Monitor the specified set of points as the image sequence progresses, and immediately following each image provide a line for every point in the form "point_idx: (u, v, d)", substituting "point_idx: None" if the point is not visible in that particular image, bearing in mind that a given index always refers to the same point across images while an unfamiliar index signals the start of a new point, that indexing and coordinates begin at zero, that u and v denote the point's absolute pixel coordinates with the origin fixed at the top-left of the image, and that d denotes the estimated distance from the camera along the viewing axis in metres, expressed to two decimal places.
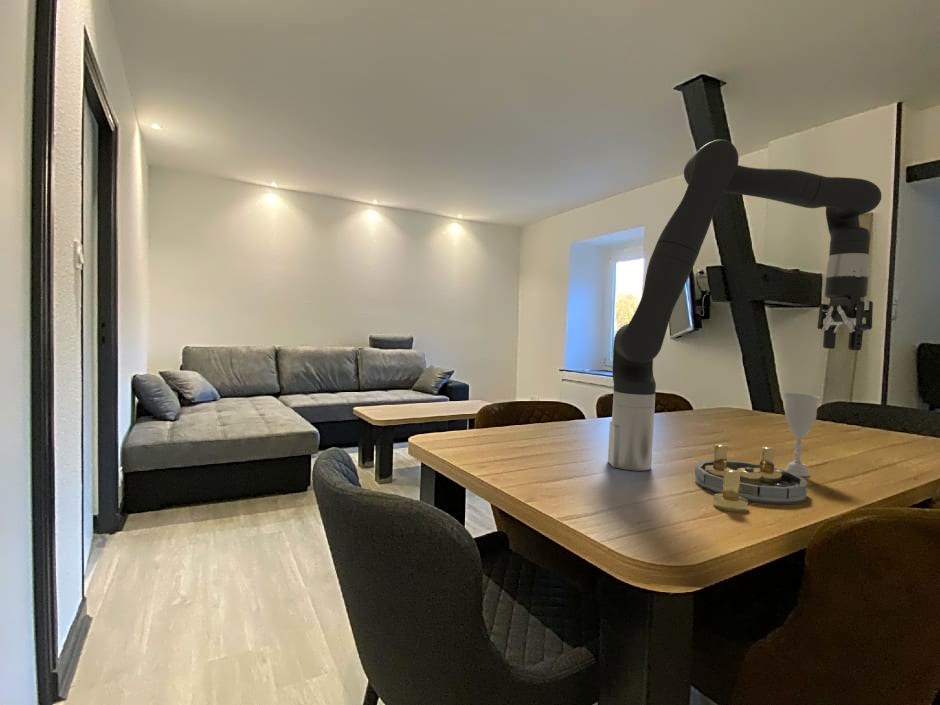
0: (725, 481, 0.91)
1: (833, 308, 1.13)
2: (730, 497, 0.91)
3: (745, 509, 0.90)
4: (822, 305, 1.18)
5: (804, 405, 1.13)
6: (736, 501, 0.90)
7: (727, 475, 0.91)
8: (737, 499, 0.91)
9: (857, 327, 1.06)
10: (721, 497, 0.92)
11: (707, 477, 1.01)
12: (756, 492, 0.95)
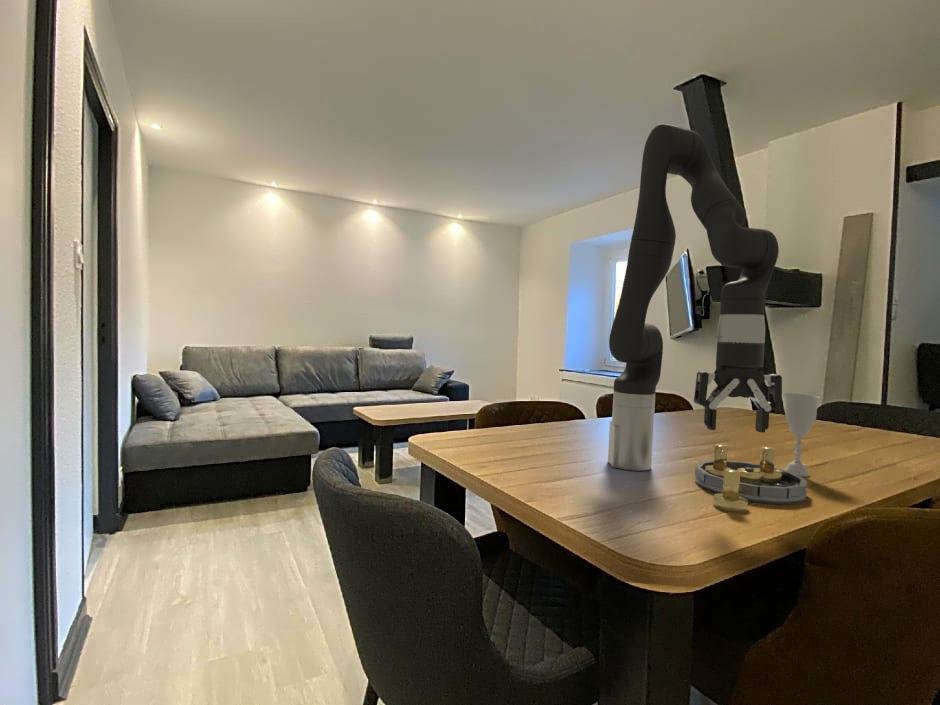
0: (725, 481, 0.91)
1: (738, 380, 0.89)
2: (730, 497, 0.91)
3: (745, 509, 0.90)
4: (707, 374, 0.90)
5: (804, 405, 1.13)
6: (736, 501, 0.90)
7: (727, 475, 0.91)
8: (737, 499, 0.91)
9: (778, 406, 0.89)
10: (721, 497, 0.92)
11: (707, 477, 1.01)
12: (756, 492, 0.95)
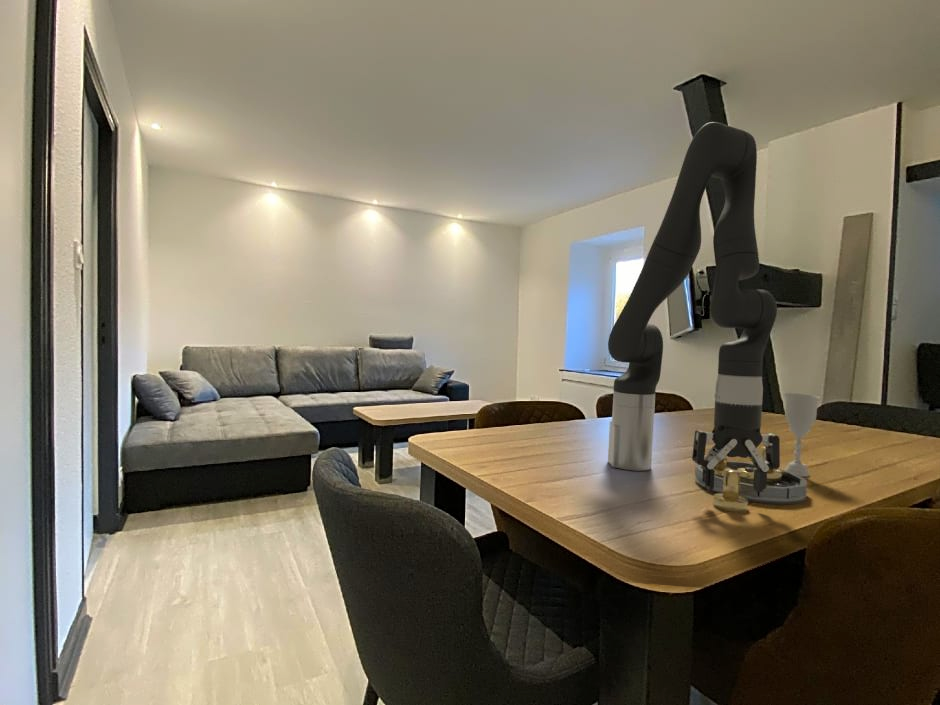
0: (725, 481, 0.91)
1: (736, 441, 0.89)
2: (730, 497, 0.91)
3: (745, 509, 0.90)
4: (705, 434, 0.90)
5: (804, 405, 1.13)
6: (736, 501, 0.90)
7: (727, 475, 0.91)
8: (737, 499, 0.91)
9: (776, 467, 0.90)
10: (721, 497, 0.92)
11: None
12: (756, 492, 0.95)
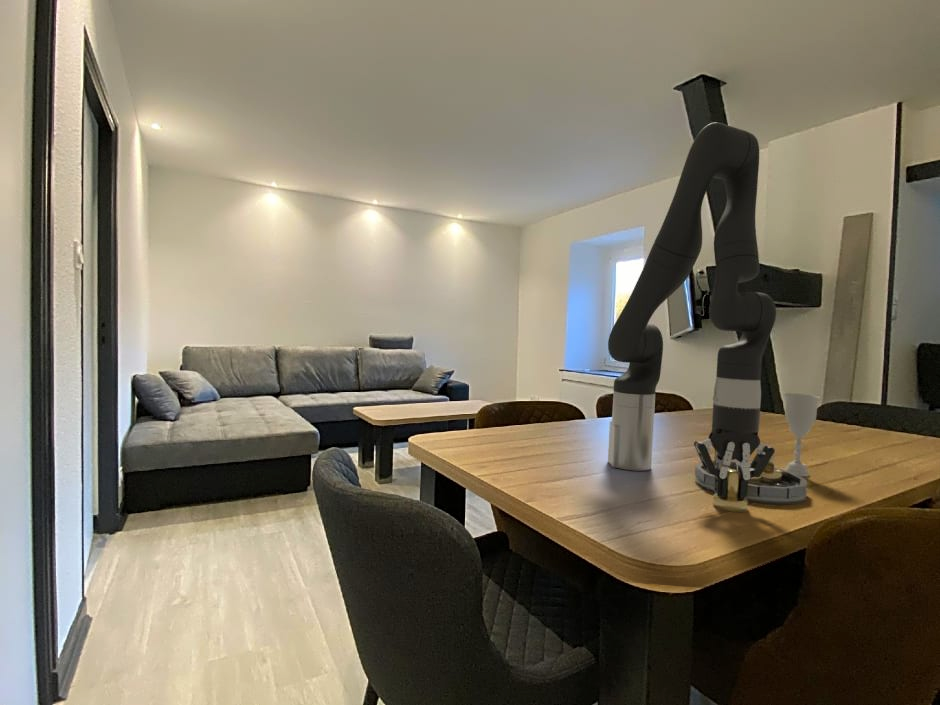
0: None
1: (733, 442, 0.90)
2: (730, 497, 0.91)
3: (745, 509, 0.90)
4: (703, 445, 0.91)
5: (804, 405, 1.13)
6: (735, 501, 0.90)
7: (727, 475, 0.91)
8: (737, 499, 0.91)
9: (756, 475, 0.90)
10: None
11: (707, 477, 1.01)
12: (756, 492, 0.95)
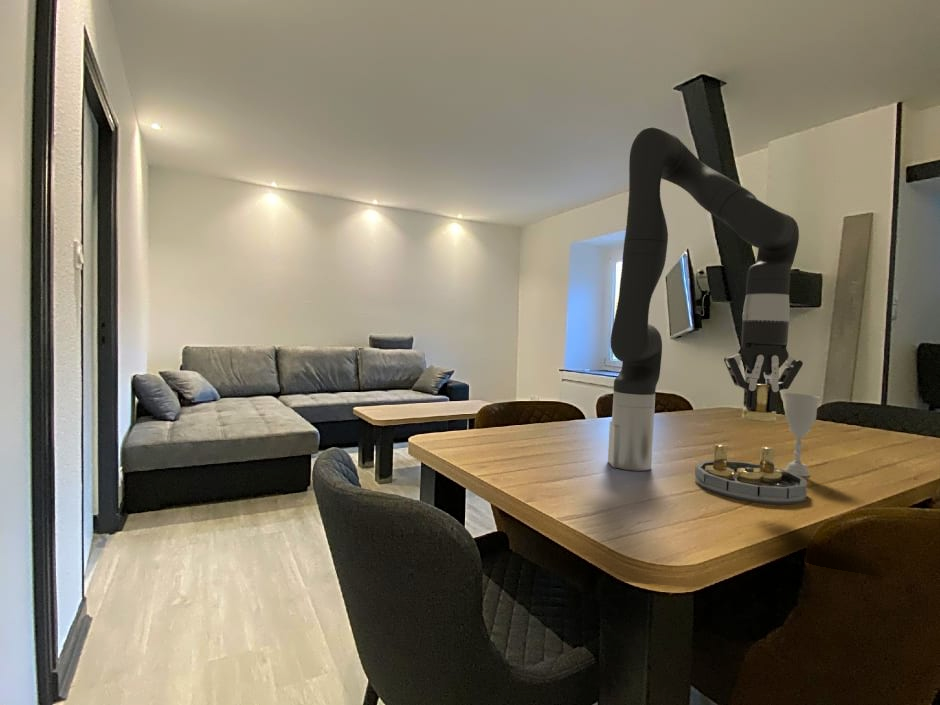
0: None
1: (762, 355, 0.94)
2: (759, 408, 0.95)
3: (774, 419, 0.94)
4: (733, 359, 0.95)
5: (804, 405, 1.13)
6: (764, 412, 0.94)
7: (756, 388, 0.95)
8: (766, 410, 0.95)
9: (785, 387, 0.94)
10: None
11: (707, 477, 1.01)
12: (756, 492, 0.95)
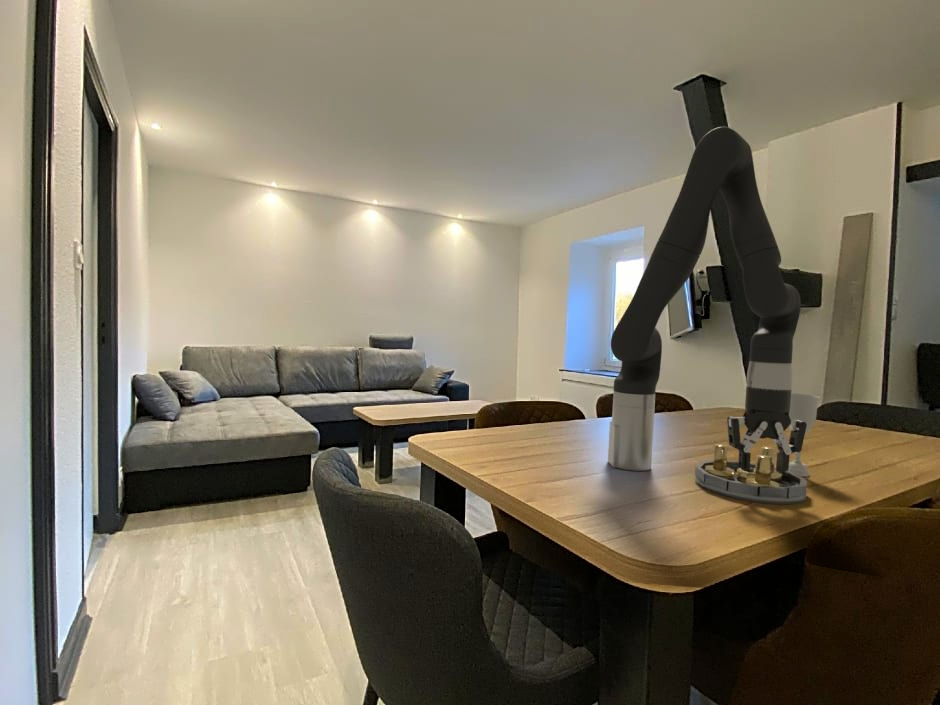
0: (757, 466, 0.98)
1: (766, 423, 0.96)
2: (762, 481, 0.97)
3: None
4: (737, 420, 0.97)
5: (804, 405, 1.13)
6: (768, 484, 0.97)
7: (759, 460, 0.98)
8: (769, 482, 0.97)
9: (798, 450, 0.96)
10: (754, 480, 0.99)
11: (707, 477, 1.01)
12: (756, 492, 0.95)
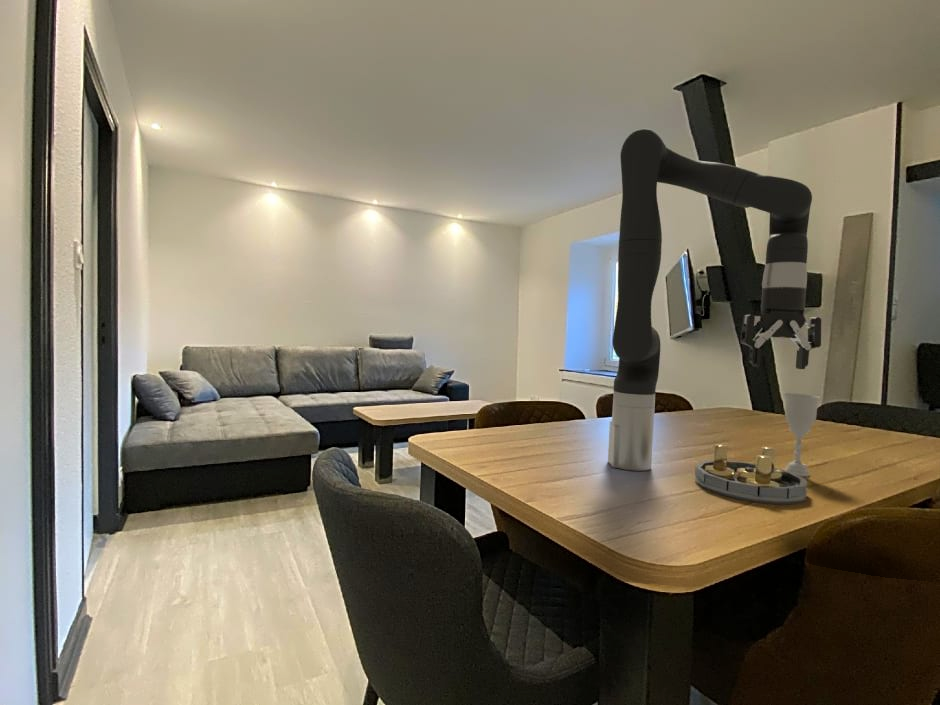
0: (757, 466, 0.98)
1: (782, 322, 1.00)
2: (762, 481, 0.97)
3: None
4: (753, 316, 1.01)
5: (804, 405, 1.13)
6: (768, 484, 0.97)
7: (759, 460, 0.98)
8: (769, 482, 0.97)
9: (817, 345, 1.00)
10: (754, 480, 0.99)
11: (707, 477, 1.01)
12: (756, 492, 0.95)
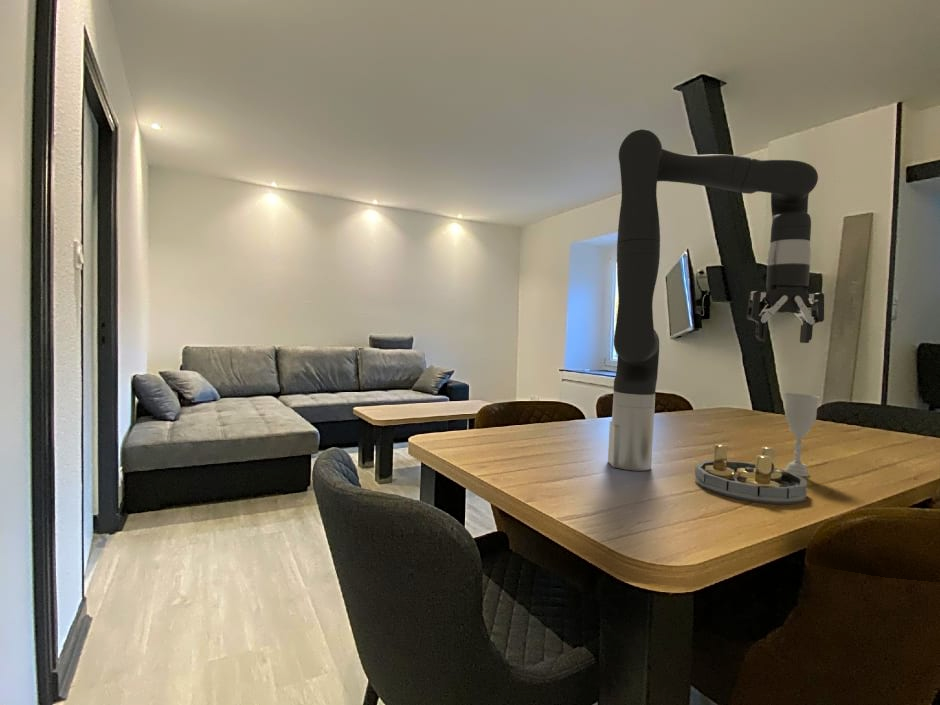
0: (757, 466, 0.98)
1: (787, 297, 1.04)
2: (762, 481, 0.97)
3: None
4: (759, 293, 1.05)
5: (804, 405, 1.13)
6: (768, 484, 0.97)
7: (759, 460, 0.98)
8: (769, 482, 0.97)
9: (821, 320, 1.04)
10: (753, 480, 0.99)
11: (707, 477, 1.01)
12: (756, 492, 0.95)
